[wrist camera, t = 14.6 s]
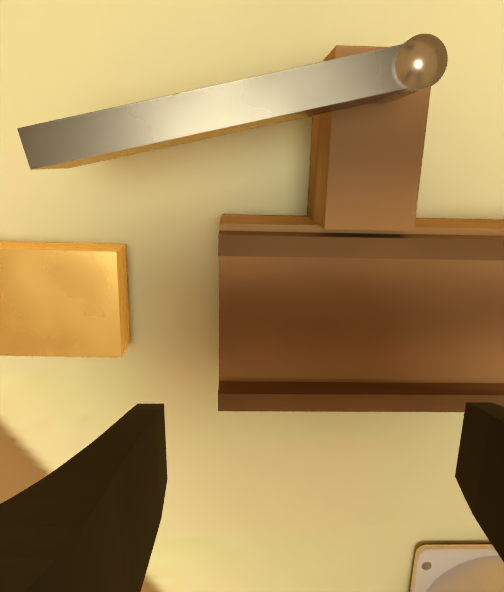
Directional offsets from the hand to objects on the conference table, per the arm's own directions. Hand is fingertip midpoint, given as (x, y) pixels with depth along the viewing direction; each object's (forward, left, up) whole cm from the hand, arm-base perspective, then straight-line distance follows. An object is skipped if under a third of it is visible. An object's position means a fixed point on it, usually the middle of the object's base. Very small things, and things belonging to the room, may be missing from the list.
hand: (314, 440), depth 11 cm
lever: (+8, +2, -6) cm, 10 cm away
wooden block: (+1, +11, -10) cm, 15 cm away
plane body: (+3, -5, -10) cm, 12 cm away
